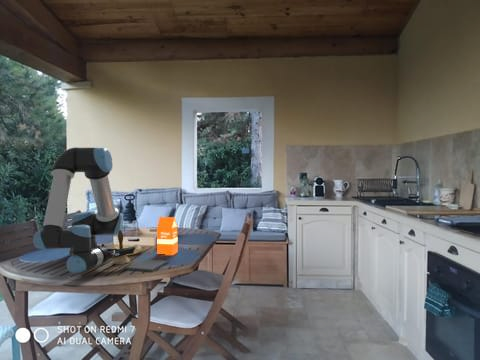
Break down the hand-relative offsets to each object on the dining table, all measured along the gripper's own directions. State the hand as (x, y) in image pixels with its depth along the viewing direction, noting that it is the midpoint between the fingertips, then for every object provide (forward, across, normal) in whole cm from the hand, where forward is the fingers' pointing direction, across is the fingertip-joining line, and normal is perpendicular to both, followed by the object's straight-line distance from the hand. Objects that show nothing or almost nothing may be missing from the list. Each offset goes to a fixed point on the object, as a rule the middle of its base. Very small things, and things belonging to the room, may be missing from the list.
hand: (125, 245), depth 183 cm
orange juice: (+19, +14, -8) cm, 25 cm away
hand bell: (-3, 0, -8) cm, 8 cm away
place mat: (-6, +16, -8) cm, 19 cm away
